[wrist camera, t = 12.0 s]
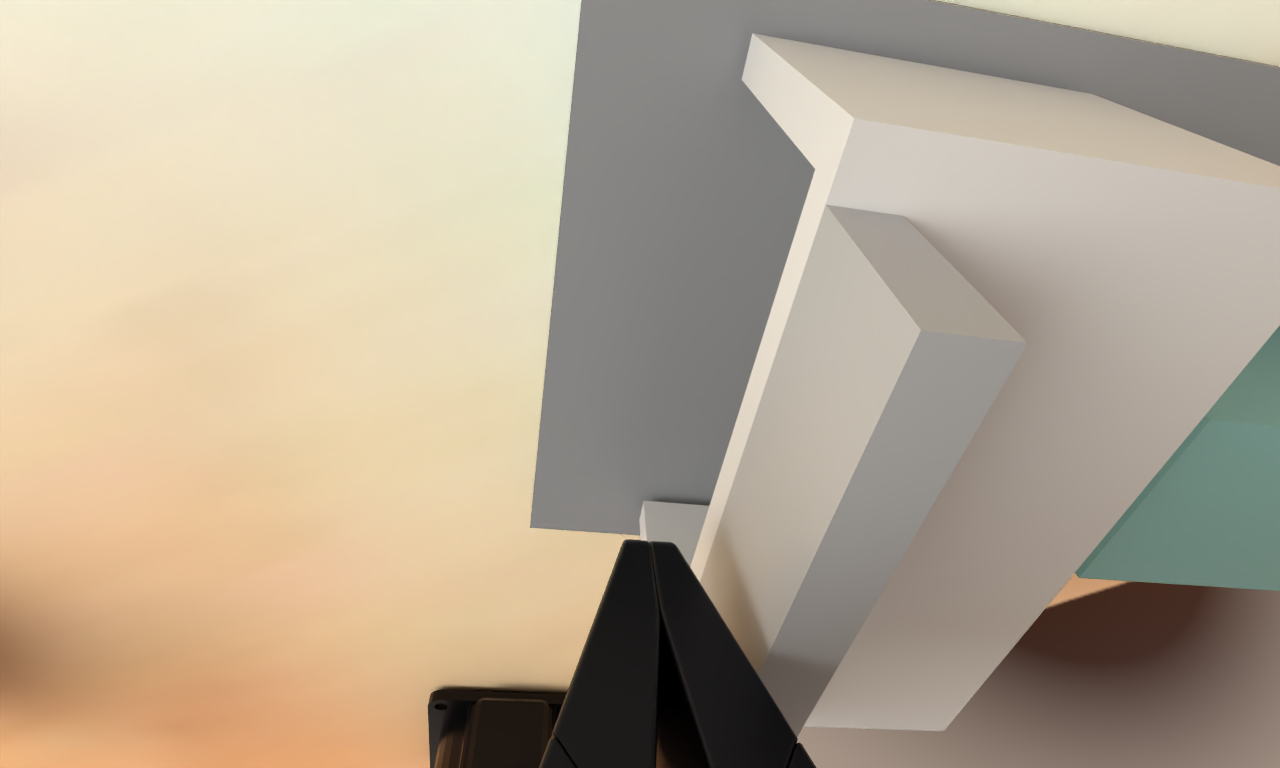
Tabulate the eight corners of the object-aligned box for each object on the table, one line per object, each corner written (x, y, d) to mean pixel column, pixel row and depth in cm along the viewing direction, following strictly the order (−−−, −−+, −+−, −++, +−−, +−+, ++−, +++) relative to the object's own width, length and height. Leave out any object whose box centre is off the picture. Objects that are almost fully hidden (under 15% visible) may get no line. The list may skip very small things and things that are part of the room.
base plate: (1130, 552, 24) (1182, 616, 21) (532, 508, 21) (524, 576, 19) (1516, 112, 15) (1666, 146, 13) (589, -67, 12) (587, -60, 10)
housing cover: (861, 536, 21) (1004, 875, 13) (639, 519, 20) (663, 875, 12) (1091, 93, 13) (1686, 321, 6) (752, 33, 12) (973, 218, 5)
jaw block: (1162, 450, 20) (1310, 592, 16) (975, 432, 19) (1078, 577, 15) (1269, 318, 17) (1479, 447, 13) (1056, 290, 16) (1211, 419, 12)
